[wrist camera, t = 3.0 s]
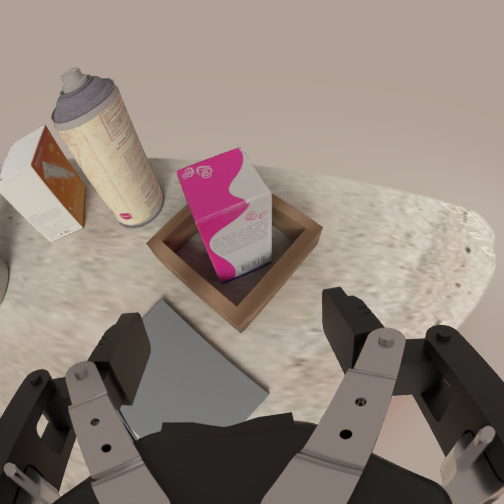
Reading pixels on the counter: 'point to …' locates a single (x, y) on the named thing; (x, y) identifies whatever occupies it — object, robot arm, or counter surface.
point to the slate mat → (187, 380)
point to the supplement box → (230, 212)
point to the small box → (43, 185)
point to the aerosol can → (107, 147)
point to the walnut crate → (268, 286)
